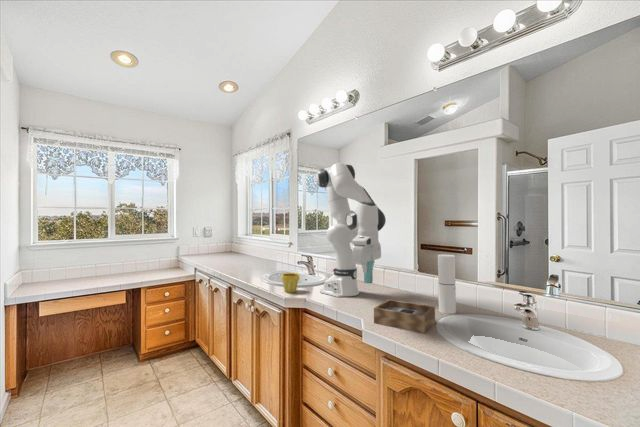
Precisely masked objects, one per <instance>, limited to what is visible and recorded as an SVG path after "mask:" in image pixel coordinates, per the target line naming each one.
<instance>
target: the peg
mask: <svg viewBox="0 0 640 427" xmlns="http://www.w3.org/2000/svg"><path fill="white" fill-rule="evenodd" d="M367 268H368V272H367V273H363V283H364V284H372V283H373V280H374V279H373V270H372V255H371V261H369V262H367Z"/></svg>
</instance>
